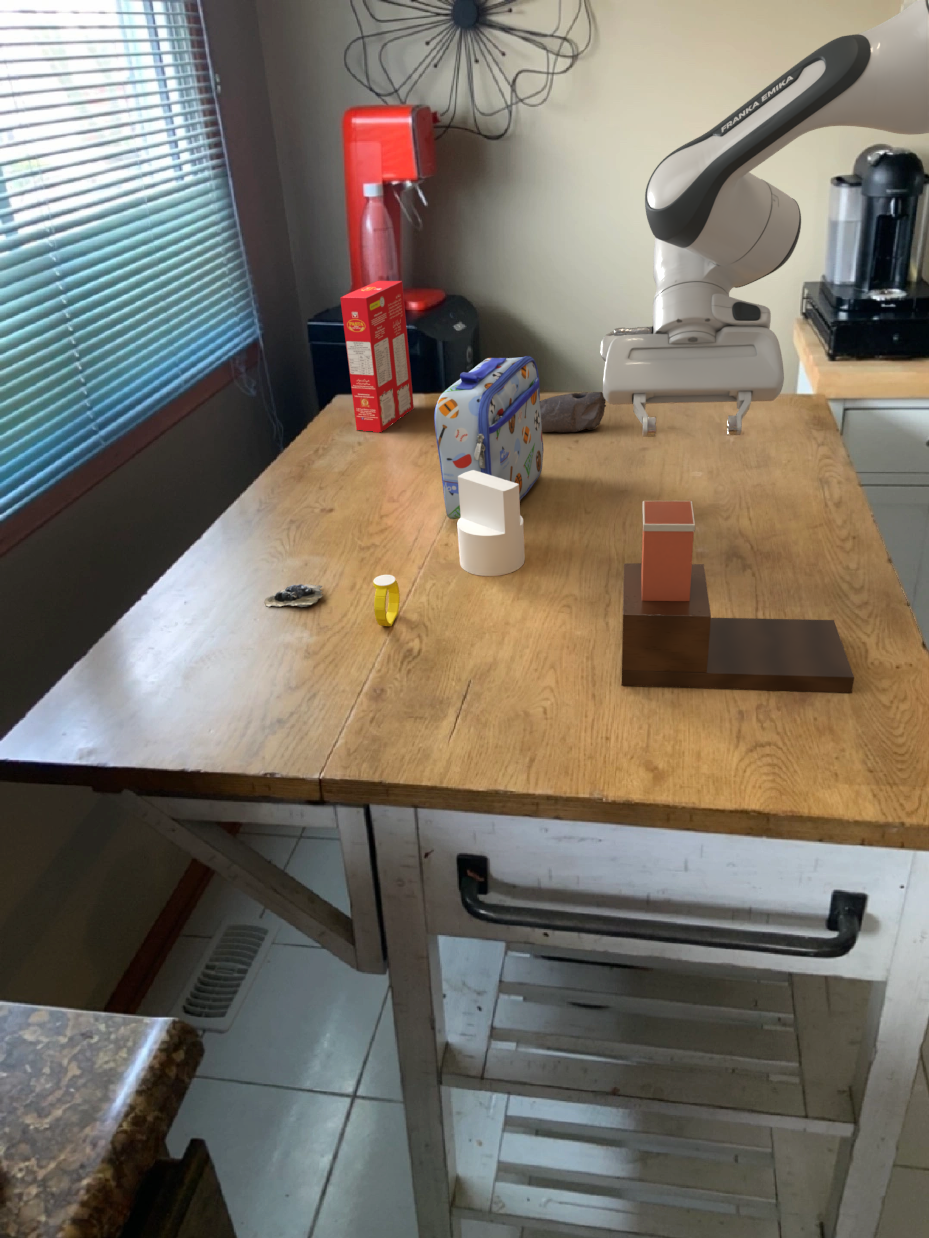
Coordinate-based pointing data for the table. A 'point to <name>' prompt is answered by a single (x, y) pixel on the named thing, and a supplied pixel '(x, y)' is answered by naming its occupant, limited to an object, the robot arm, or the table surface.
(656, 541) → the tapered rectangular bin
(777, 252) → the robot arm
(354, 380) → the food packaging
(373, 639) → the table surface
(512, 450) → the lunch box
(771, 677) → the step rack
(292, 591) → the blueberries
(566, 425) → the perforated stone tool
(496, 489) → the cylinder with rectangular tab
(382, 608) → the watch
